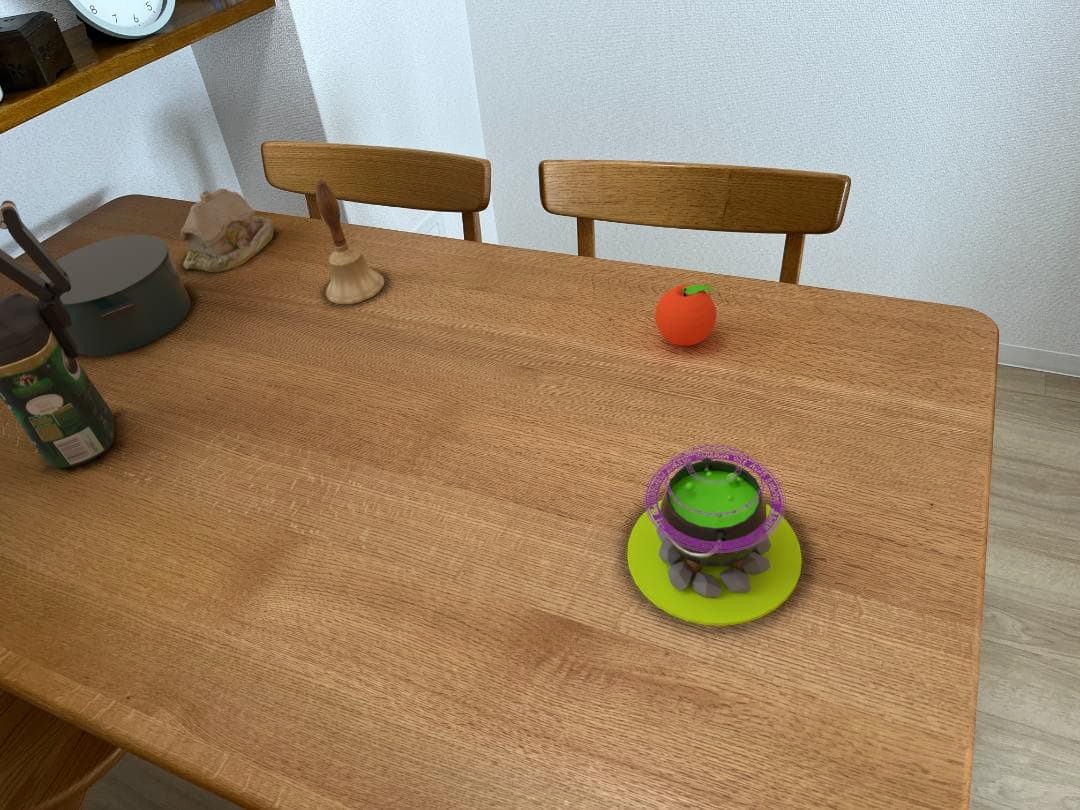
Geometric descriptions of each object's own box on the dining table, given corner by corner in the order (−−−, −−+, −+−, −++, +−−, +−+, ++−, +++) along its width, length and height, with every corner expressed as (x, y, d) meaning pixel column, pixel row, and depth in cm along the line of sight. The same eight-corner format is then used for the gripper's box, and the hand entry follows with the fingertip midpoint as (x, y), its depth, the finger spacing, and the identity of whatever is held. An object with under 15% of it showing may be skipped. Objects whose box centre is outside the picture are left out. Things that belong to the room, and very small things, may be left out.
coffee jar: (49, 430, 97) (-42, 302, 85) (117, 407, 99) (37, 278, 87) (45, 481, 90) (-55, 348, 78) (118, 455, 92) (31, 322, 80)
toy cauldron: (623, 495, 78) (615, 409, 70) (783, 484, 76) (791, 395, 69) (631, 630, 66) (623, 544, 59) (819, 621, 65) (835, 532, 57)
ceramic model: (218, 280, 120) (191, 219, 114) (172, 265, 125) (143, 207, 119) (287, 235, 128) (265, 176, 122) (241, 223, 134) (218, 166, 127)
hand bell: (314, 296, 113) (275, 191, 103) (355, 267, 118) (322, 164, 107) (355, 310, 109) (319, 202, 98) (396, 279, 113) (366, 173, 103)
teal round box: (73, 380, 105) (38, 326, 99) (59, 311, 119) (28, 260, 113) (206, 328, 110) (180, 274, 105) (178, 268, 125) (154, 218, 119)
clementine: (707, 314, 98) (707, 263, 93) (735, 344, 93) (737, 292, 88) (646, 332, 97) (643, 282, 92) (671, 364, 92) (670, 312, 87)
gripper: (-245, 224, 67) (-75, 427, 81) (22, 145, 73) (135, 346, 88) (-230, 194, 72) (-73, 389, 87) (17, 123, 78) (125, 316, 93)
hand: (32, 367), depth 87 cm, fingers closed on coffee jar, 8 cm apart
